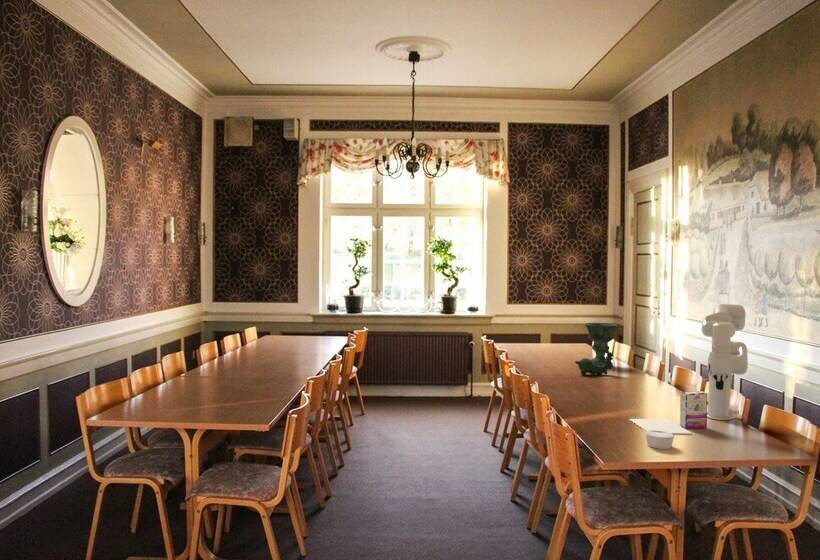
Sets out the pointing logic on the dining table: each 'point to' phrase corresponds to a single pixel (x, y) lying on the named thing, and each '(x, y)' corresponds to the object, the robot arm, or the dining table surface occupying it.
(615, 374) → the dining table surface
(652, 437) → the ramekin
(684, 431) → the mat
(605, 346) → the goblet
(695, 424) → the candy bar box
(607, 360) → the toy figurine
